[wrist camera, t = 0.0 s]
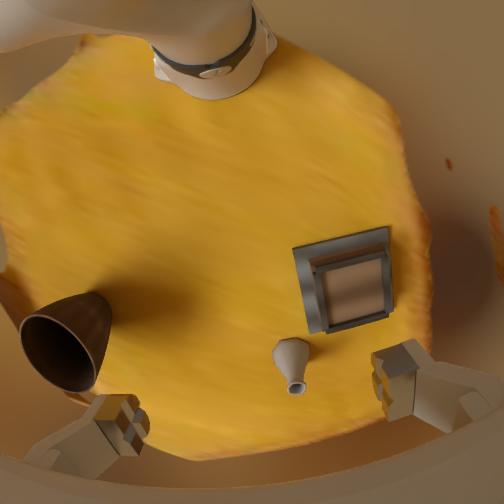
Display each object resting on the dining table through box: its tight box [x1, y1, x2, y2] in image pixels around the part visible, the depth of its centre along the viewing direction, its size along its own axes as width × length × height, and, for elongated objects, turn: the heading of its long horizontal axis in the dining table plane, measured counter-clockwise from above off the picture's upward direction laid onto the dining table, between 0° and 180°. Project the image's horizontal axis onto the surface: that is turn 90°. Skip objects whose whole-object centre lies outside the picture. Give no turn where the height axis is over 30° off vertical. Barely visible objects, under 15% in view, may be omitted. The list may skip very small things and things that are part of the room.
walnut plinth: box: [292, 226, 394, 334], centre depth 48 cm, size 16×16×5 cm
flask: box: [272, 338, 310, 396], centre depth 50 cm, size 7×7×10 cm
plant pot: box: [19, 293, 112, 393], centre depth 45 cm, size 15×15×16 cm
